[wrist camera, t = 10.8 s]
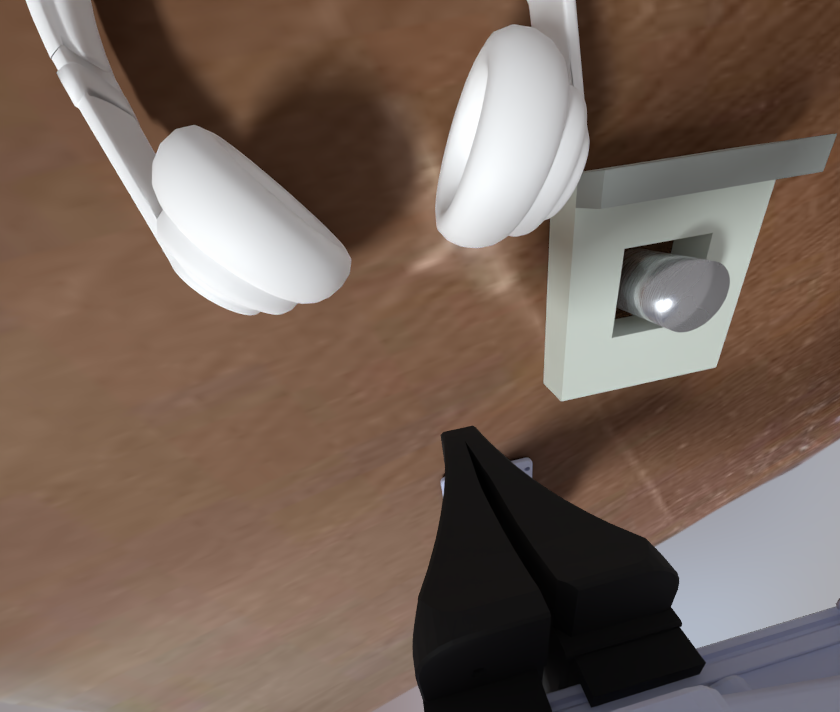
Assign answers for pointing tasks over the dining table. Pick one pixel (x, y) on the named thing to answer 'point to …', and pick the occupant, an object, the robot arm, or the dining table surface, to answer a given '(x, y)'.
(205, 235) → the headphones
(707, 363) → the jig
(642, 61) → the dining table surface
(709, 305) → the peg
